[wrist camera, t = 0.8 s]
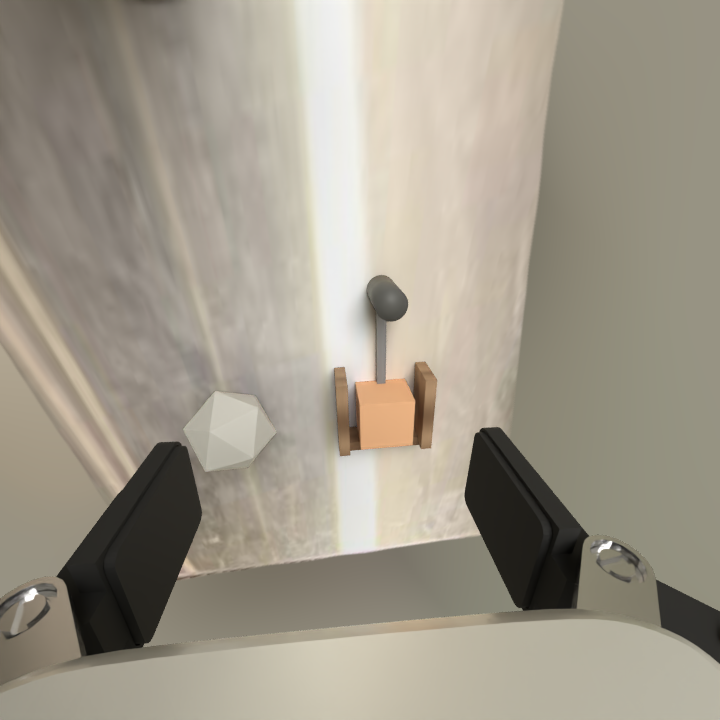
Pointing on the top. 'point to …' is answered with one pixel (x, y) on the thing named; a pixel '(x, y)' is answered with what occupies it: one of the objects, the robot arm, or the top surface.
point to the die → (229, 431)
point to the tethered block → (384, 379)
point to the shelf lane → (422, 417)
